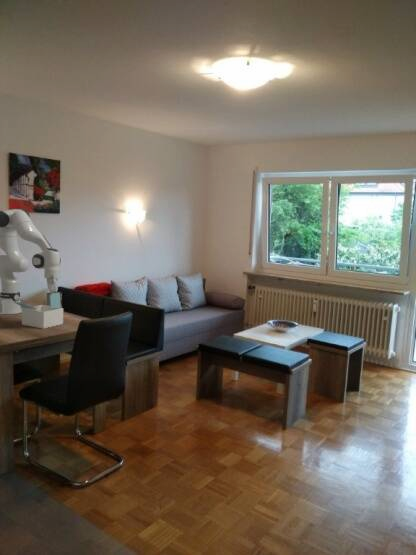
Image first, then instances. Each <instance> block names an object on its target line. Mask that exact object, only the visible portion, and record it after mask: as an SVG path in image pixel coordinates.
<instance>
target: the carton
mask: <svg viewBox="0 0 416 555" xmlns="http://www.w3.org/2000/svg"><path fill="white" fill-rule="evenodd" d="M32 307H34V308H36V310H35V309H29V308H24V307H21V309H22V312H21V325H22V326H28V327H33V328H36V329H37V328H39V329H42V330H44V329H47V328H48V327H49V328H53V327H56V325H57V326H61V325H63V324H64V308H63V307H62V308H52V309H50V306H47V304H46V305H45V304H44V305H43V304H39V305H33V306H32ZM52 326H53V327H52Z"/></svg>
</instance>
